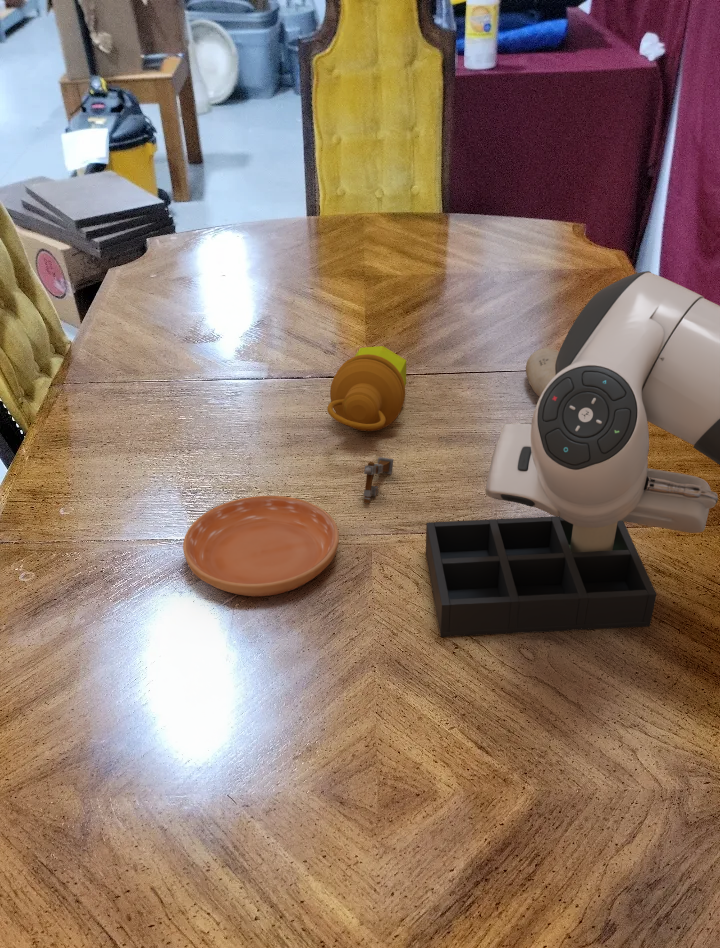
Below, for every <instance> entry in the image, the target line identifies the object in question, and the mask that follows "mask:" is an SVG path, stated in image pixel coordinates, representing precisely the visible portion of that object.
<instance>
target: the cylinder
mask: <svg viewBox="0 0 720 948" xmlns="http://www.w3.org/2000/svg"><path fill="white" fill-rule="evenodd" d="M617 523H618V522H616V523H614V524H611V525H608V526H604V527H598V528H586V527H581V526H577V525H574V524H573V530H572V537H571V544H570V549H571V552H593V551H613V545H614V539H615V534H616V528H617Z"/></svg>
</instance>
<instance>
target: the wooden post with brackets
mask: <svg viewBox="0 0 720 948" xmlns="http://www.w3.org/2000/svg"><path fill="white" fill-rule="evenodd" d="M393 467H394V458H388V457H381V456H378V458H377V463H375V462H374V461H368V463H367V465H366V464H365V465H364V471H363V474H364V475H366V478H365V488H364V490H363V503H365V504H370V503H371V499H372V498H371V497H376V496H377V495H378V491H379V486H377V485H373V481H374V477H375V475H380V474H387V475H393Z"/></svg>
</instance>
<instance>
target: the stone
mask: <svg viewBox="0 0 720 948" xmlns="http://www.w3.org/2000/svg"><path fill="white" fill-rule="evenodd" d="M559 351H560V350H559ZM559 351H558V350H557V349H554V348H550V347H544V348H543V347H542V348H540V349H537V350H535V351H534V352H533V353H532V354H531V355H530V356H529V357H528V359H527V360H526V364H525V374H526V378H527V380H528V383H529V385H530V386H531V389H532V390H533V392H534V393H535V394H536V395H537V396H538V398H540V396H541V394H542V392H543V391H544V389H545V388H546V386H547V384H548V383H549V382H550V381H551V379H552V378H553V377H554V376H555V375H556V374H555V364H556V359H557V356H558V353H559Z"/></svg>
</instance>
